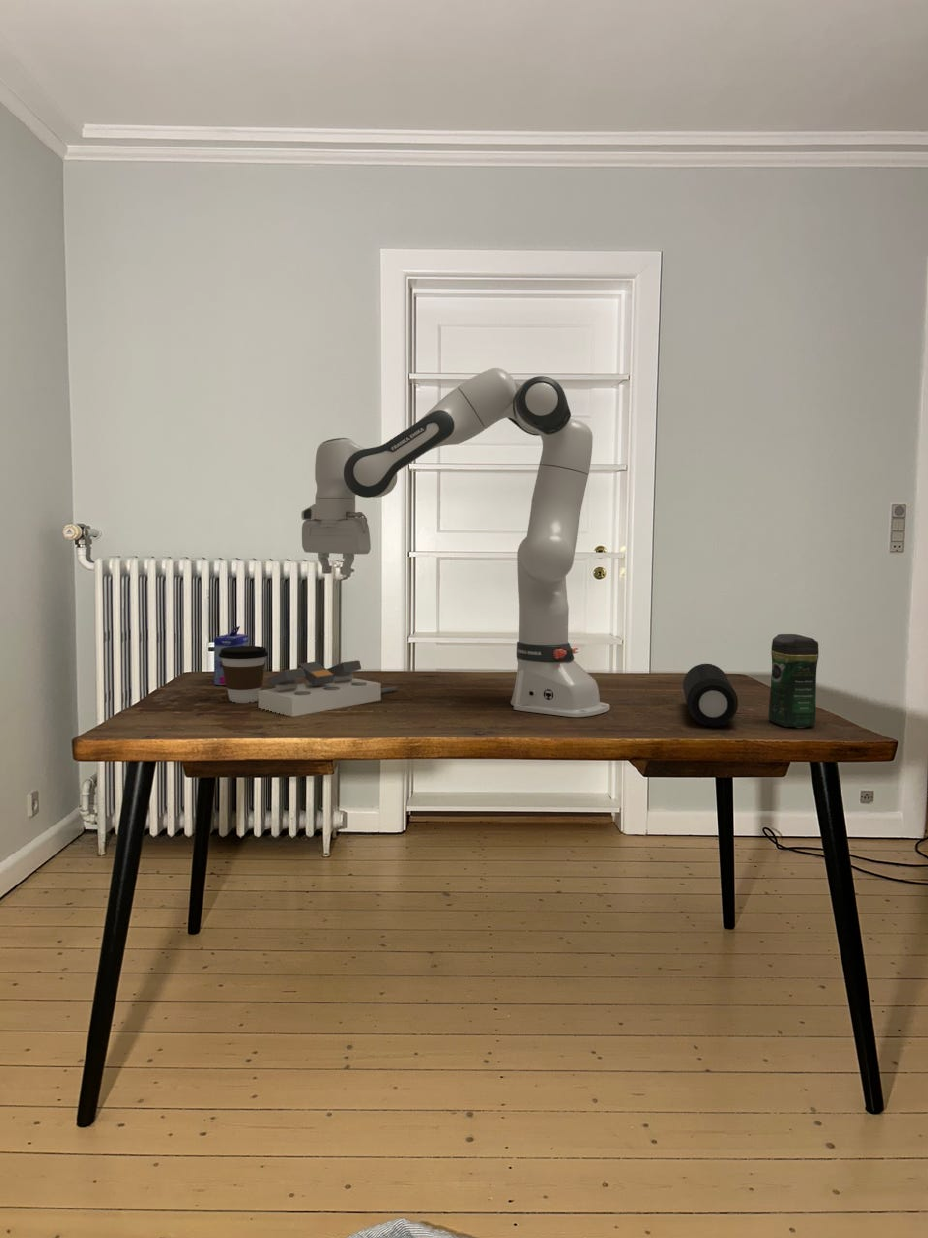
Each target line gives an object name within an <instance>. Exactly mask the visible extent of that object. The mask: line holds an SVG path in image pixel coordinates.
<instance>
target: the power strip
mask: <svg viewBox="0 0 928 1238" xmlns="http://www.w3.org/2000/svg"><path fill="white" fill-rule="evenodd" d="M381 684H382V683H381V682H377V681H370V680H366V679H359V678H354V675H353V673H349V674H343V675H336V676H334V679H333V683H329V684H323V685H317V686H314V685H313V684H312V683H311V682H309V681H308V680H307V679H305V681H304V683H299V684H298V682H297V681H295V682H290V683H283V684H277V685H276V686H274V688H272V687H271V688H266V689H260V691H259V698H258V709H259V708H261V709H260V710H262V709H265V710H264V711H266V710H269V711H268V712H270V711H272V713H275V712H276V713H275V714H279V713H280V715H283V714H284V716H287V717H292V718H293V717H298V716H303V715H309V714H315V713H319V712H320V713H321V712H324V711H330V710H336V709H342V708H347V707H351V706H357V705H358V706H359V705H363V704H367V703H373V702H378V701H381V700H382V697H381V695H382V694H387V693H393V692H396V691H397V690H398V687H397V686H390V687H389V686H388V687H382V688H381ZM392 691H393V692H392Z"/></svg>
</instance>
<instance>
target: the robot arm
mask: <svg viewBox="0 0 928 1238" xmlns="http://www.w3.org/2000/svg"><path fill="white" fill-rule="evenodd" d="M571 417H572V413H571V410H570V406H569V404H568V400H567V396H566V393H565V391H564V389H563V387H562V386H561V384H559V382H558V381H556V379H553V378H551V377H548V376H544V375H539V376H534V377H532V378H529V379H527V380H526V381H525V382H523V383H522V384H519V383H518V382H516V381H515V379H514V378H513V376H512V375H511V374H510V373H508V371H506V370H504V369H503V368H499V367H492V368H489V369H488V370H484V371H483V372H481V373H479V374H477V375H475V376H473V377H471V378H469V379H467V380H466V381H464V382H463V383H462V384H460V385H458V386H457V387H455V388H454V389H452V390H451V391H450V392H449V393H447V394H446V395H445V396H444V397H442V398H441V400H439V401H438V402H437V403H436V404H435V405H434V406H433V407H432V408H431V409H430V410H429V411H428V412H427V413H426V414H425V415H424V416H422V418H420V419H419V420H418V421H417V422H415V423H414V424H412V425H411V426H410V427H408V428H406V429H405V430H403V431H402V432H400V433H399V434H398V435H396V436H394V437H393V438H391V439H390V440H388V441H387V442H385V443H384V444H382V445H378V446H375V447H370V448H364V447H363V446H360V445H359V444H357V443H356V442H354V441H353V440H352V439H350V438H347V437H339V438H331V439H328V440H327V439H326V440H325V441H323V442H321V443H319V445H318V447H317V450H316V455H315V465H314V466H315V467H314V470H315V471H314V477H315V478H314V480H315V482H316V483H315V484H316V493H315V503H313V504H312V505H310V506H309V507H307V508H305V509H303V510H302V511H301V515H300V516H301V517H300V518H301V520H302V521H304V522H302V526H301V546H302V549H303V551H304V553H307V554H308V553H309V554H313V553H314V554H317V558H318V561H319V563H320V565H321V573H322V574H326V575H328V574H332V572H333V565H330V562H329V558H330V554H335V555H337V554H338V555H340V554H341V555H342V559H343V564H342V566H340V567H339V570H340V571H339V573H340V575H343V576H345V575H346V576H347V575H348V576H349V575H351V567H352V565H353V563H354V560H355V555H368V554H369V553H370V552H371V550H372V546H371V545H372V543H371V534H370V532H371V531H370V527H369V524H368V518H367V517H366V515H365V514H364V513H363V512H362V511H356V496H357V497H361V498H365V499H368V498H369V499H370V498H382V497H385V496H387V495H389V494H390V493H391V492H392V491H393V490H394V489H395V487H396V485H397V482H398V473H399V471H401V470H402V469H403V468H406V467H407V466H408V465H409V464H411V463H413V462H414V461H415V460H417V459H419V458H420V457H421V456H423V455H424V454H426V453H428V452H429V451H431V450H434V449H436V448H439V447H444V446H450V445H452V446H453V445H459V444H462V443H464V442H466V441H469V440H471V439H472V438H474V437H476V436H478V435H479V434H482V433H483V432H484V431H485V430H487V429H488V428H490V427H491V426H492V425H493V424H495V423H497V422H498V421H500V420H502V419H506V418H507V419H508V420H509V421H510V422H512V423H513V424H514V425H516V426H517V427H518V428H519V429H520V430H521V431H523V432H524V433H527V434H528V435H530V436H539V437H540V438H541V441H542V451H541V457H540V462H539V464H538V468H537V469H538V470H537V474H536V479H535V482H534V483H535V484H534V486H533V487H534V488H533V493H532V497H531V504H530V506H531V507H530V511H529V519H528V525H527V526H528V527H527V532H526V536H525V537H524V538H523V540H522V541H521V542H520V544H519V546H518V550H517V554H516V556H517V558H516V559H517V561H516V562H517V563H516V565H517V587H518V588H517V589H518V590H517V591H518V606H519V607H518V611H519V612H518V641H517V642H516V659H517V660H516V661H517V671H516V678H515V679H516V680H515V684H514V690H513V694H512V698H511V700H510V704H511V706H513V710H514V711H515V710H516V711H521V712H529V713H535V714H536V713H537V714H545V715H553V716H561V717H567V718H568V717H569V718H584V717H592V716H596V715H600V714H603V713H606V712H608V711H610V703H606V702H602V701H600V700H601V699H600V691H599V685H598V683H597V680H596V679H594V677H592V676H591V675H590V674H589V673H588V672H586V670H585V669H584V668H582V666H581V665H579V664H578V662H577V661H575V656H574V654H578V653H579V651H578V649H579V647H574V648H572V646H571V644H570V643H569V612H570V611H569V609H570V608H569V602H568V591H567V580H566V579H567V578H566V576H568V574H569V573H570V572H571V569H572V568H573V564H574V560H575V556H576V548H577V542H578V535H579V528H580V516H581V510H582V505H583V501H584V497H585V492H586V487H587V483H588V478H589V473H590V469H591V463H592V454H593V438H594V437H593V432H592V430H591V428H590V427H589V426H588V425H587V424H585V423H584V422H583V421H581V420H577V419H574V418H571Z"/></svg>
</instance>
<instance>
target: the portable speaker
mask: <svg viewBox="0 0 928 1238" xmlns="http://www.w3.org/2000/svg"><path fill="white" fill-rule="evenodd" d="M682 684H683V685H682V687H683V688H682V689H683V693H684V697H685V702H686V706H687V709H688V713H689V714H690V715H691V717H692V718H693V720H695V721H696V722H697V723H698V724H700V725H702V726H705V727H707V726H709V727H710V728H718V727H722V726H724V725H727V724H728V723H729V722H730V721H732V719H733V718H734V717H735V715H736V713H737V711H738V708H739V699H738V695H737V693H736V691H735V689H734V688H733V686H732V684H731V681H729V679H728V677H727V674H726V673H725V671H724V670H723V669H721V667H718V666H717V665H715V664H712V663H700V664H698V665H695V666H693V667H692V668H691V669H689V671H688V672H687V673H686V674H685V676H684V678H683V683H682ZM709 727H708V728H709Z"/></svg>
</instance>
